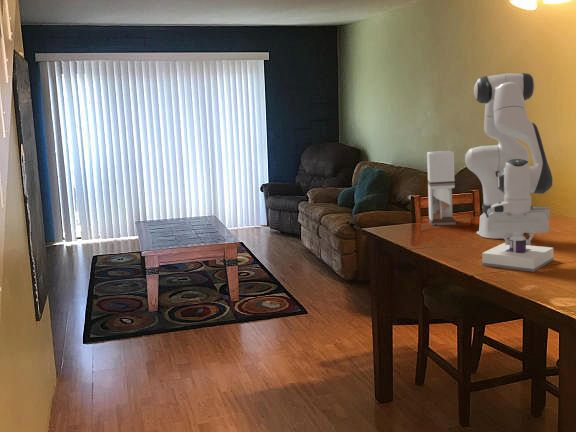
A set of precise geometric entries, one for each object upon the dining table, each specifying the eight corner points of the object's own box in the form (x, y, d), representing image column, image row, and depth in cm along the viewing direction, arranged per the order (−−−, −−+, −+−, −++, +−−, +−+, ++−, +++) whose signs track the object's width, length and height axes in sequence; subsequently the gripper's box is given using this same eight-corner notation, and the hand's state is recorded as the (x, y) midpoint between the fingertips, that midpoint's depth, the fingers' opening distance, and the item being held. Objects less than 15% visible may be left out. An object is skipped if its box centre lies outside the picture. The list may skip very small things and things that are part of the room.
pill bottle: (528, 256, 206) (528, 229, 205) (522, 259, 202) (522, 232, 201) (513, 254, 210) (512, 228, 208) (507, 258, 206) (507, 231, 204)
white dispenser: (431, 225, 283) (429, 153, 278) (429, 221, 294) (426, 152, 288) (455, 224, 282) (453, 152, 276) (452, 220, 292) (450, 150, 287)
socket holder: (503, 254, 219) (503, 242, 218) (553, 260, 206) (553, 247, 206) (482, 265, 206) (482, 253, 205) (533, 271, 194) (533, 258, 193)
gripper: (550, 204, 202) (549, 243, 204) (488, 204, 210) (488, 242, 212) (550, 207, 196) (549, 247, 198) (486, 207, 204) (486, 246, 207)
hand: (517, 244), depth 205 cm, fingers closed on pill bottle, 5 cm apart
